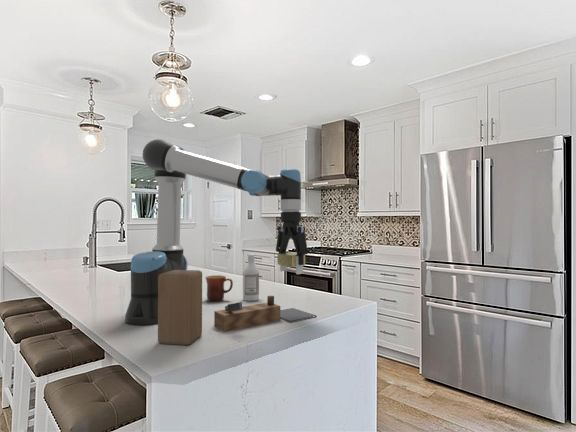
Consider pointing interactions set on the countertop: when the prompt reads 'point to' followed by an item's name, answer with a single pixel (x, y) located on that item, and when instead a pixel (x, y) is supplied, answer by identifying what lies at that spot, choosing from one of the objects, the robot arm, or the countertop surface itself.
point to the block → (179, 306)
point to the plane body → (247, 316)
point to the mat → (294, 315)
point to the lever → (234, 307)
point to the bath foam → (251, 280)
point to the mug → (216, 287)
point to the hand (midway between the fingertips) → (291, 272)
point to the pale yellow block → (288, 259)
